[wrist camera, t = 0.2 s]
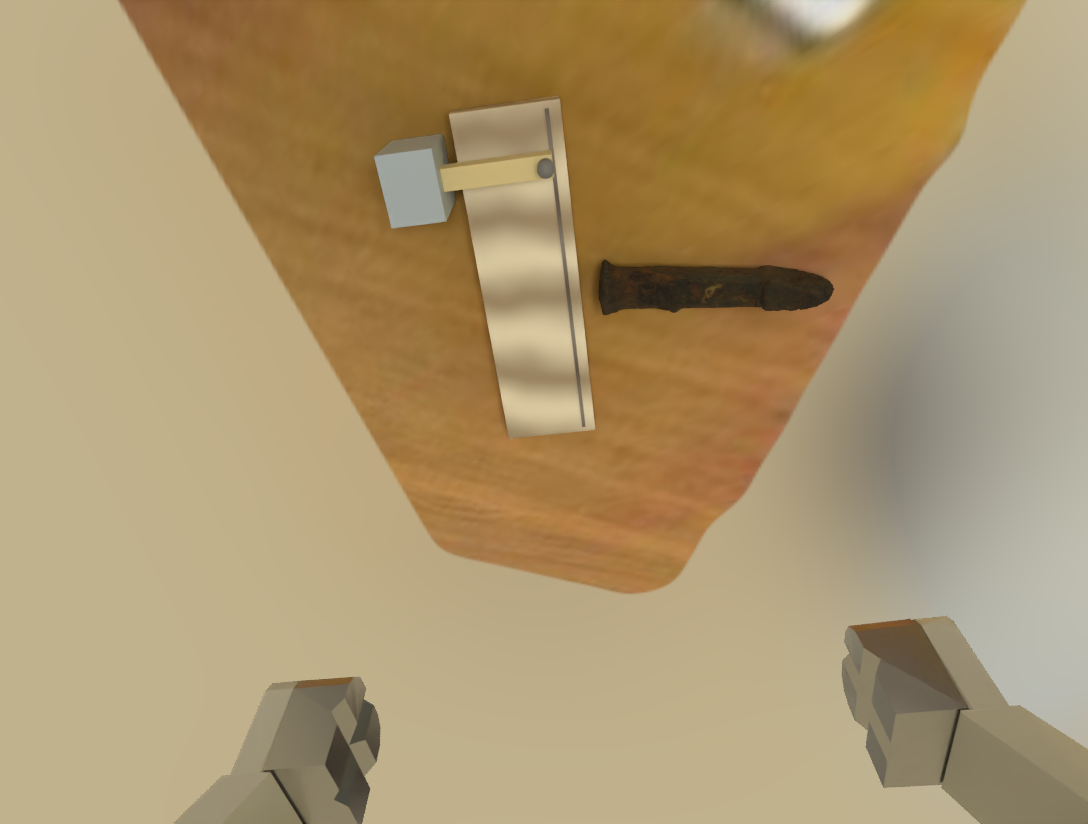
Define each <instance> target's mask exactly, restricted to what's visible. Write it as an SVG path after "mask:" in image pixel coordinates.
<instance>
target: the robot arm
mask: <svg viewBox="0 0 1088 824" xmlns="http://www.w3.org/2000/svg"><path fill="white" fill-rule="evenodd" d="M844 642H845V644H846V647H847V649H848V651H849V653H850V654H849V655H847V657H845V658H844V659H843V661H842V678H843V686H844V691H845V695H846V698H847V702H848V705H849V707H850V710H851V712H852V715H853V717H854V720H855V721H857V722H858V723H859V724H860V725H862V726H863V727H864V728H865V729H867V730H868V733H867V741H866V748H867V750H868V753H869V755H870V757H871V760H872V762H873V764H874V767H875V769H876V771H877V774H878V776H879V778H880V781H881V783H882V785H883V787H884V788H887V787H905V786H924V785H942V789H944V790H945V791H946V792H947V793H948V794H949V795H950V796H951V797H952V798H953V799H955V801H957V802H958V803H959V804H960V805H961V806H962V807H963V808H964V809H965V810H966V811H968V812H969V813H970V814H971V815H972V816H973V817H974V818H975V819H976V820H977V821H978V822H979V823H981V824H1088V749H1087V748H1085V747H1083V746H1082V745H1080V744H1079V743H1077V742H1075V741H1074V740H1073V739H1071V738H1070V737H1068V736H1067V735H1065V734H1063V733H1062V732H1060V731H1059V730H1057V729H1056V728H1054V727H1052V726H1051V725H1049V724H1048V723H1046V722H1045V721H1043V720H1042V719H1040V718H1038V717H1037V716H1035V715H1034V714H1032V713H1031V712H1029V711H1028V710H1026V709H1024V708H1023V707H1021V706H1009V705H1008V703H1007V702H1006V700H1005V699H1004V697H1003V696H1002V694H1001V693H1000V691H999V690H998V688H997V686H996V685H995V683H994V682H993V680H992V679H991V678H990V676H989V674H988V673H987V671H986V670H985V668H984V667H983V665H982V664H981V662H980V661H979V659H978V658H977V656H976V655H975V653H974V652H973V650H972V648H971V647H970V645H969V644H968V642H967V641H966V639H965V638H964V636H963V635H962V634H961V632H960V630H959V629H958V627H957V626H956V624H955V623H954V621H952V620H951V619H950V618H948V617H947V616H942V617H933V618H923V619H914V620H911V619H906V620H898V621H889V622H881V623H872V624H863V625H854V626H849V627H848V628H847V630H846V632H845V641H844ZM365 692H366V687H365V685H364V684H363V682H362V680H361V678H360V677H347V678H333V679H321V680H305V681H294V682H283V683H273V684H272V685H271V686H270V687H269V688H268V689H267V690H266V691H265V693H264V695H263V697H262V700H261V702H260V705H259V707H258V710H257V712H256V714H255V717H254V719H253V721H252V724H251V726H250V729H249V731H248V733H247V736H246V738H245V741H244V743H243V746H242V748H241V750H240V753H239V755H238V757H237V760H236V762H235V765H234V767H233V769H232V772H231V774H230V775H225V776H221V777H220V778H219V779H218V780H217V781H216V782H215V783H214V784H213V785H212V786H211V787H210V788H209V789H208V790H207V791H206V792H205V793H204V794H203V795H202V796H201V797H200V798H199V799H198V800H197V801H196V802H195V803H194V804H193V805H192V806H190V807H189V808H188V809H187V810H186V811H185V812H184V813H183V814H182V815H181V816H180V817H179V818H178V819H177V820H176V821H175V822H174V823H173V824H362V822H363V817H364V813H365V809H366V804H367V800H368V796H369V792H370V787H369V785H368V783H367V781H366V779H365V777H364V776H365V775H366V774H367V772H368V771H369V770H370V769H371V768H372V767H373V766H374V764H375V763H376V761H377V756H378V752H379V747H380V723H379V718H378V714H377V711H376V709H375V707H374V705H372V704H371V703H369V702H367V701H366V700H364V696H365Z"/></svg>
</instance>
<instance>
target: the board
mask: <svg viewBox="0 0 1088 824" xmlns="http://www.w3.org/2000/svg"><path fill="white" fill-rule="evenodd" d="M449 118H450V124H451V129H452V135H453V140H454V145H455V151H456V156H457V161H458V162H466V161H473V160H481V159H488V158H495V157H503V156H510V155H518V154H525V153H533V152H540V151H547V150H551V151H552V160H553V163H554V178H548V179H540V180H532V181H525V182H517V183H509V184H502V185H494V186H487V187H479V188H471V189H464V190H463V194H464V199H465V204H466V210H467V215H468V220H469V226H470V231H471V237H472V242H473V247H474V253H475V258H476V263H477V269H478V274H479V280H480V285H481V290H482V296H483V301H484V306H485V312H486V317H487V323H488V328H489V333H490V339H491V344H492V349H493V355H494V360H495V366H496V371H497V376H498V382H499V387H500V392H501V398H502V403H503V409H504V414H505V419H506V425H507V430H508V435H509V439H511V438H521V437H530V436H540V435H550V434H559V433H569V432H579V431H588V430H595V422H594V413H593V404H592V394H591V385H590V376H589V366H588V357H587V348H586V338H585V329H584V320H583V310H582V301H581V292H580V282H579V273H578V264H577V254H576V245H575V236H574V226H573V217H572V208H571V198H570V189H569V180H568V170H567V161H566V152H565V142H564V133H563V124H562V114H561V105H560V96H551V97H544V98H537V99H530V100H523V101H516V102H509V103H502V104H495V105H487V106H480V107H473V108H466V109H459V110H452V111H451V112H450V113H449Z"/></svg>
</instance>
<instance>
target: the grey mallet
mask: <svg viewBox="0 0 1088 824" xmlns="http://www.w3.org/2000/svg"><path fill="white" fill-rule="evenodd" d="M374 159H375V163H376V167H377V171H378V175H379V179H380V183H381V187H382V191H383V195H384V199H385V203H386V207H387V211H388V216H389V220H390V224H391V228H400V227H408V226H415V225H423V224H431V223H439V222H446V221H447V219H448V217H449V214H450V212H451V210H452V208H453V206H454V204H455V202H456V198H455V192H454V191H456V190H464V189H471V188H479V187H487V186H494V185H502V184H509V183H517V182H525V181H532V180H540V179H548V178H554V163H553V160H552V151H551V150H547V151H540V152H533V153H525V154H518V155H510V156H503V157H495V158H488V159H481V160H473V161H466V162H458V163H451V164H449V161H448V156H447V151H446V146H445V141H444V135H443V134H437V135H429V136H422V137H415V138H408V139H400V140H393V141H391V142H389V143H388V144H387V145H386V146H385V147H384V148H383V149H382V150H380V151H379V152H378V153H377V154H376V155H375V156H374Z"/></svg>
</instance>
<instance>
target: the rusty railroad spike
mask: <svg viewBox="0 0 1088 824" xmlns="http://www.w3.org/2000/svg"><path fill="white" fill-rule="evenodd" d="M833 290H834V288H833V285H832V284H831V282H830V281H828V280H827V279H825V278H823V277H821V276H818V275H815V274H812V273H807V272H804V271H799V270H796V269H785V268H781V267H774V266H761V267H760V268H759V269H740V268H715V267H701V268H683V267H667V266H656V267H617V266H613V265H611V264H610V263H609V262H608V261H606V260H604V261H603V263H602V269H601V274H600V282H599V300H600V304H601V308H602V312H603V315H608V314H611V313H615V312H618V311H619V310H622V309H637V308H639V309H643V308H657V309H663V310H669V311H671V312H673V313H674V312H677V311H678V310H680V309H682V308H715V307H762V308H763V309H764V310H766V311H779V310H790V311H793V310H797V309H800V310H802V309H808V308H812V307H817V306H818V305H820V304H822V303H824V302H826V301H828V300H829V298H830V297H831V295H832V293H833Z"/></svg>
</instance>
